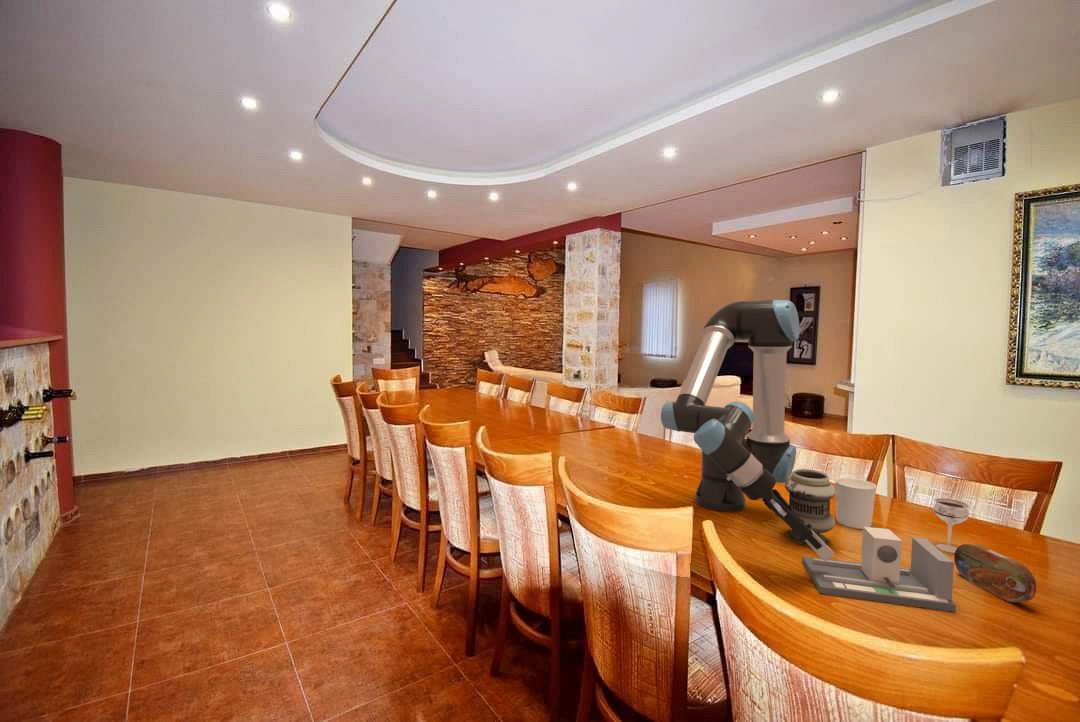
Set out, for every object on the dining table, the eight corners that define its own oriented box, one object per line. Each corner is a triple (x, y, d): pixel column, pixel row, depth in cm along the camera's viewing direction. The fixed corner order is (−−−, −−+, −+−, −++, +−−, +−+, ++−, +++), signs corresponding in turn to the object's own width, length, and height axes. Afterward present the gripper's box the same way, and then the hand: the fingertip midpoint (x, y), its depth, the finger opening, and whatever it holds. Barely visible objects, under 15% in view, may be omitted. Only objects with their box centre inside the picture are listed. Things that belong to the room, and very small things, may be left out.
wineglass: (969, 557, 115) (972, 510, 115) (934, 550, 119) (936, 504, 118) (963, 546, 121) (965, 501, 120) (929, 540, 125) (931, 496, 124)
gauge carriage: (878, 591, 97) (881, 544, 96) (861, 569, 106) (863, 526, 105) (906, 595, 96) (909, 548, 95) (886, 572, 105) (888, 529, 104)
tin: (951, 572, 108) (954, 537, 108) (964, 572, 109) (966, 536, 108) (1024, 611, 93) (1027, 570, 93) (1038, 610, 94) (1041, 570, 93)
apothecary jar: (785, 544, 122) (787, 477, 121) (780, 526, 133) (782, 464, 132) (839, 552, 118) (842, 482, 117) (829, 533, 129) (831, 469, 128)
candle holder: (881, 531, 130) (883, 489, 129) (842, 528, 132) (843, 487, 131) (864, 518, 140) (866, 478, 139) (828, 515, 142) (829, 476, 141)
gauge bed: (819, 593, 99) (821, 550, 99) (802, 562, 113) (803, 523, 112) (955, 612, 93) (958, 566, 92) (919, 576, 106) (922, 536, 106)
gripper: (734, 478, 115) (806, 553, 112) (742, 496, 103) (824, 581, 100) (758, 459, 114) (832, 534, 110) (770, 475, 101) (854, 560, 98)
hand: (828, 556), depth 105 cm, fingers closed
